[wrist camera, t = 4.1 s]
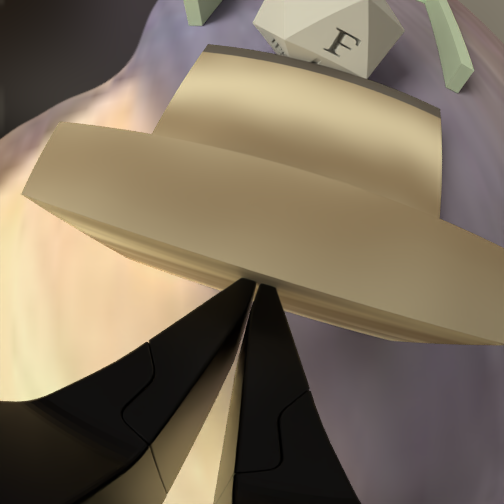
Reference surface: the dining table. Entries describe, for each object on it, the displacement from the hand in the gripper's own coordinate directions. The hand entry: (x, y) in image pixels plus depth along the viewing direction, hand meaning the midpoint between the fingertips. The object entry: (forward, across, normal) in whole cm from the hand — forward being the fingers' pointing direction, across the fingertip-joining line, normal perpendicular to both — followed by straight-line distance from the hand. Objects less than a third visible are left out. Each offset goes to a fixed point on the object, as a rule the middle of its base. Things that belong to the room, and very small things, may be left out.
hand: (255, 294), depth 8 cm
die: (+17, 0, -7) cm, 18 cm away
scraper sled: (+9, 0, 0) cm, 9 cm away
